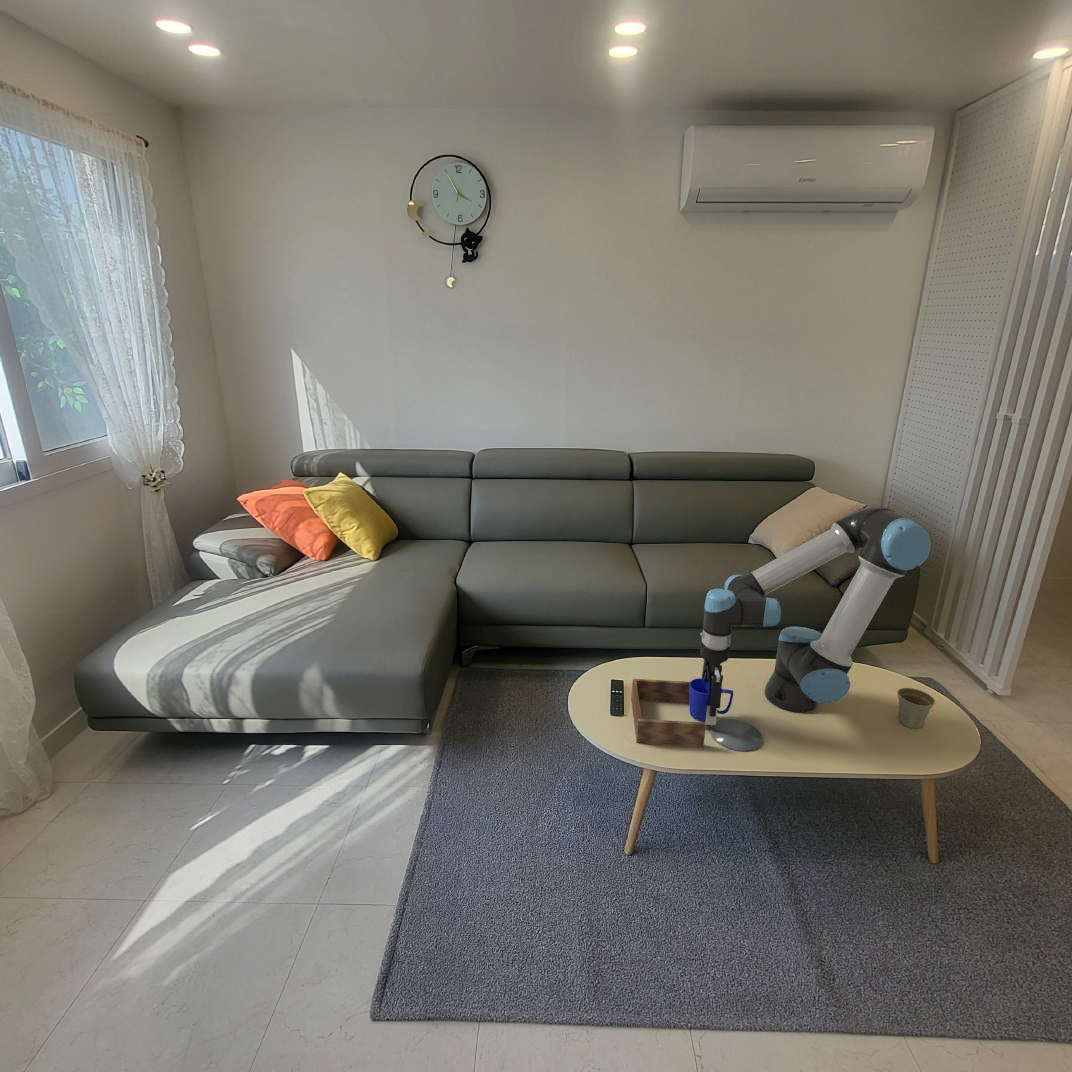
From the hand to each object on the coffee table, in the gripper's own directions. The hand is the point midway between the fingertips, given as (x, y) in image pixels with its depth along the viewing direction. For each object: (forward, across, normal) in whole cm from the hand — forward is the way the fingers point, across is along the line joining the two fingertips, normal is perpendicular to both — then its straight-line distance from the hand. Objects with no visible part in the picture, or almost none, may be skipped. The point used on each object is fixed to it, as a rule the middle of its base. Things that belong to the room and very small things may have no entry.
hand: (708, 715), depth 174 cm
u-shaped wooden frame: (+3, 0, -12) cm, 12 cm away
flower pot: (+4, -6, +59) cm, 59 cm away
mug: (0, 0, 0) cm, 0 cm away
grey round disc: (+3, +4, +7) cm, 9 cm away
